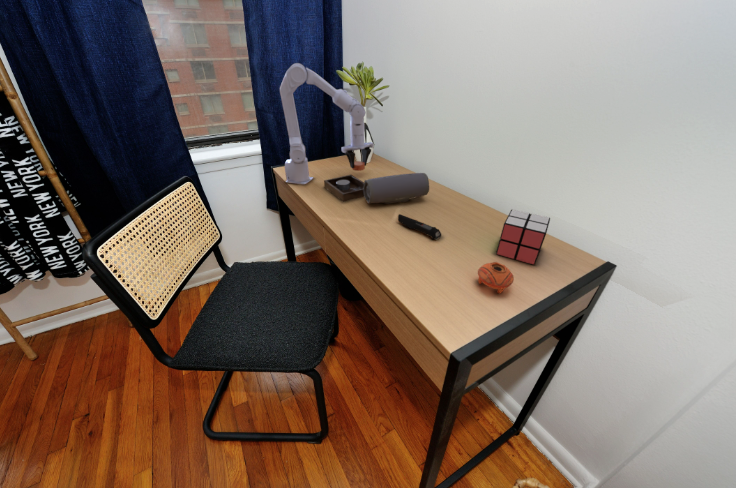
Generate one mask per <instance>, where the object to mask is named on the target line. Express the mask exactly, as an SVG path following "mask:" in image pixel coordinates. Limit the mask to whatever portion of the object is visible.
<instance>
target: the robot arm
mask: <svg viewBox="0 0 736 488" xmlns="http://www.w3.org/2000/svg"><path fill="white" fill-rule="evenodd" d="M305 82H306V84H307V85H314V86H316V87H317V88H319V89H320V90H322V91H323V92H324V93H326V95H329V96H330V97H331V98H332V103H333V104H335V105H336V106H337V107H339V108H340V109H341V110H342V111H344V112H345V113H348V114H349V115H350V116H349V117H350V118H349V119H350V122H349V127H350V128H349V129H350V130H349V131H350V132H349V133H350V144H348V145H344V146H341V152H342V153H344V155H345V156H346V158H347V160H348V162H349V166H350V168H351V169H352V168H354V162H355V157H356V153H355V152H354V151H360V153H361V162H364V163H365V167H366V166H367V164H368V159H369V156H370V155H371V153H372V149H373V148H374V142H372V141H369V142H365V116H366V109H365V107H364V105H362V104H361V102H360V101H358V98H355V97H352V96H351V95H350V94H349V93H348V91H347V90H346V89H343V88H339V89H336V88H335V87H334V86H332V85H331V84H330V83H329V82H328V81H326V79H324V78H323V77H321V76H320V75H319V74H317V73H316V72H315V71H313V70H312V69H310V68H309V67H305V65H303V64H302V63H299V62H295V63H293V64H292V65H290V67H289V68H287V70H286V72H285V74H284V77H283V78H282V82H281V84H280V86H279V94H280V98H281V105H282V110H283V114H284V119H285V125H286V129H287V135H288V139H289V146H290V147H289V150H290V151H289V159H286V161H285V163H284V172H285V179H286V180H285V183H289V184H296V185H306V184H308V183H309V182H310V181H312V180H313V179H314V177H313V176H310V170H309V169H310V168H309V160H308V157H307V155H306V146H305V145H304V143H303V140H302V136H301V131H300V126H299V125H300V124H299V120H298V115H297V109H296V104H295V103H296V102H295V98H294V92H296V90H297V89H298V87H300V86H301V85H303V84H304V83H305Z"/></svg>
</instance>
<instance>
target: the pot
mask: <svg viewBox="0 0 736 488" xmlns="http://www.w3.org/2000/svg"><path fill="white" fill-rule="evenodd" d="M477 275H478V281H477V282H478V284H479V285H481V284H482V283H483V284H484V285H485V286H487V287H489V288H490V289H495V290H496V291H497V294H502V293H503V291H504V290H505V289H506V288H508V287H510V286H512V284H513V283H514V281H515V277H514V275H513V272H512V271H511V270H510V268H508V267H507V266H506V265H505V264H502V263H500V262H497V261H493V262H487V263H484V264H482V265H481V266H480V267H479V268H478V270H477Z"/></svg>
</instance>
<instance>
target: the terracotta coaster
mask: <svg viewBox="0 0 736 488" xmlns="http://www.w3.org/2000/svg"><path fill="white" fill-rule="evenodd" d="M365 168H366V166H365V163H364V162H362V160H361V161H360V160H357V161H354V168H351V169H352V171H355V172H356V171H358V172H361V171H364V170H365Z"/></svg>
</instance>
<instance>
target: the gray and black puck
mask: <svg viewBox="0 0 736 488" xmlns="http://www.w3.org/2000/svg"><path fill="white" fill-rule="evenodd" d="M336 185H337V189H339V190H348V189H350V181H348V180H339V181H337V182H336Z"/></svg>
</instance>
